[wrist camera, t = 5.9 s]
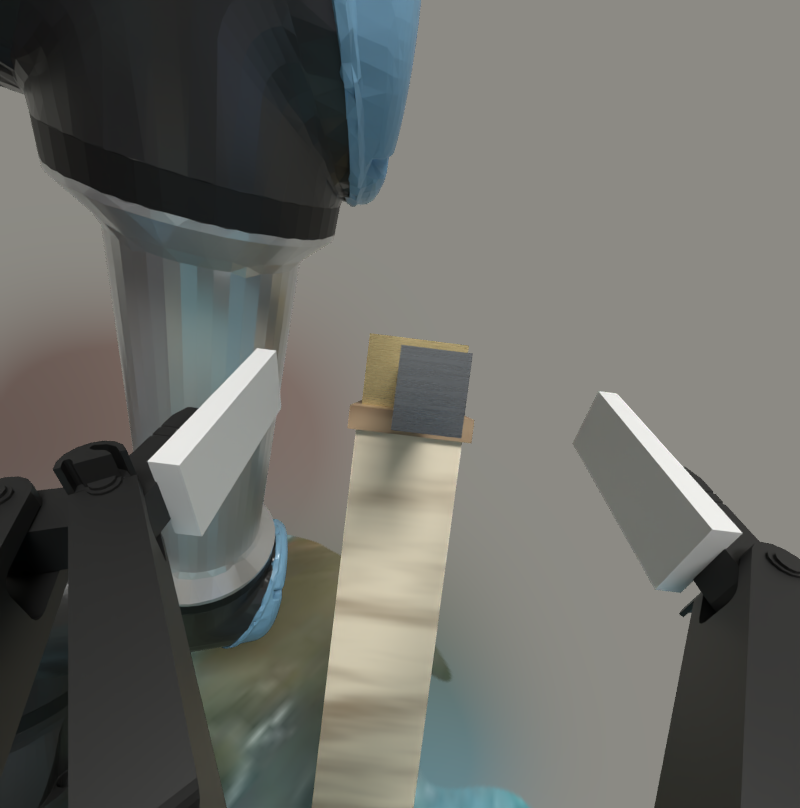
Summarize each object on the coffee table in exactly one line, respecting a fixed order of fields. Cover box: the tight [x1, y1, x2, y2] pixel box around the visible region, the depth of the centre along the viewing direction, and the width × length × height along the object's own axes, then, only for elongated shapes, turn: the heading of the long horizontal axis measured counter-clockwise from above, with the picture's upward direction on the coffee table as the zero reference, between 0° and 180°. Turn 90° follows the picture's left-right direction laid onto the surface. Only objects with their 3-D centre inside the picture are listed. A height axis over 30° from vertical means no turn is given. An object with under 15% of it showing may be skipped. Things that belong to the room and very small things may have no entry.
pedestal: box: [312, 400, 474, 808], centre depth 27 cm, size 8×8×36 cm
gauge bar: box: [362, 334, 472, 438], centre depth 21 cm, size 18×7×5 cm, turn 1°
